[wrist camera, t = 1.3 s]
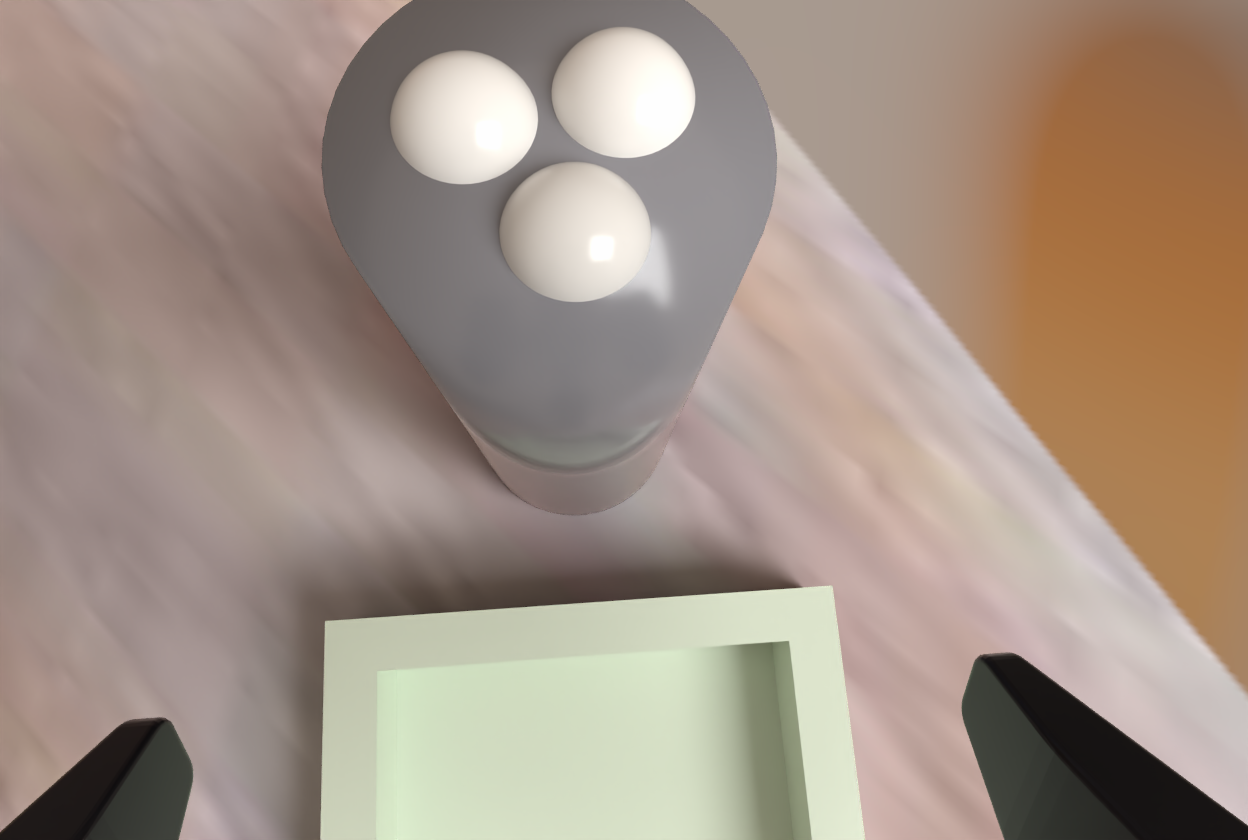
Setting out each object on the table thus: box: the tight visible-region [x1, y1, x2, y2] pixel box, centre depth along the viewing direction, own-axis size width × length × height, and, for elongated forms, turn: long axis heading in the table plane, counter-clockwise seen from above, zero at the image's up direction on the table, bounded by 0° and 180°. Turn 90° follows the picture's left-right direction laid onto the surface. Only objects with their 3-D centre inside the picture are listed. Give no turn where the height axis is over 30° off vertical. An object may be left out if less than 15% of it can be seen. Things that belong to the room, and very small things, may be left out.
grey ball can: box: [322, 0, 777, 515], centre depth 15 cm, size 5×5×14 cm
